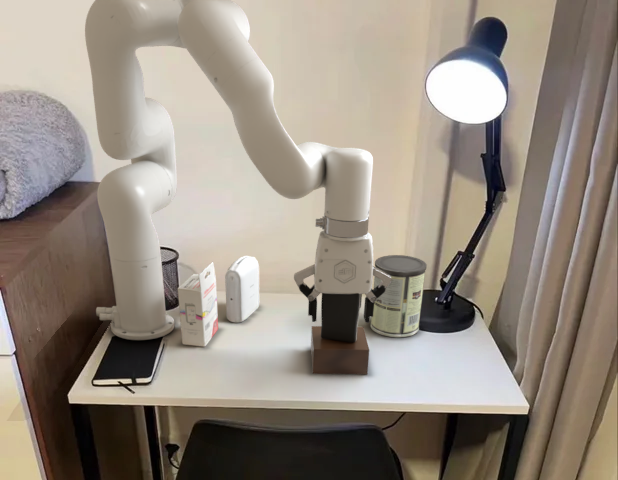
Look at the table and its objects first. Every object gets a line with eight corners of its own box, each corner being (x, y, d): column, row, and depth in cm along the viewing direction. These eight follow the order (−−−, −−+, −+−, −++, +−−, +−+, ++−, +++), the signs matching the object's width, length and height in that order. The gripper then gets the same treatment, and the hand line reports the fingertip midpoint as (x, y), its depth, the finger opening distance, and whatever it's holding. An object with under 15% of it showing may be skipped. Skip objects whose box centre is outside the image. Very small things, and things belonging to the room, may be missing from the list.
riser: (312, 373, 121) (313, 349, 118) (310, 349, 129) (311, 326, 127) (367, 374, 121) (369, 349, 119) (361, 350, 130) (363, 326, 127)
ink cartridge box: (195, 327, 137) (191, 258, 129) (218, 329, 136) (216, 260, 129) (180, 344, 130) (175, 272, 122) (204, 347, 129) (201, 275, 121)
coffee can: (377, 314, 145) (383, 251, 138) (423, 322, 142) (432, 259, 135) (363, 332, 137) (368, 266, 130) (411, 341, 134) (419, 274, 127)
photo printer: (242, 324, 139) (241, 267, 132) (223, 321, 140) (221, 264, 134) (262, 307, 147) (261, 252, 141) (244, 304, 148) (243, 250, 142)
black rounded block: (360, 336, 124) (364, 277, 118) (356, 344, 120) (360, 284, 115) (324, 330, 125) (326, 272, 119) (318, 339, 122) (321, 279, 116)
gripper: (295, 231, 109) (293, 327, 117) (399, 234, 109) (390, 328, 118) (294, 219, 115) (292, 310, 124) (393, 221, 116) (384, 312, 125)
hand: (340, 319), depth 121 cm, fingers open, 9 cm apart
